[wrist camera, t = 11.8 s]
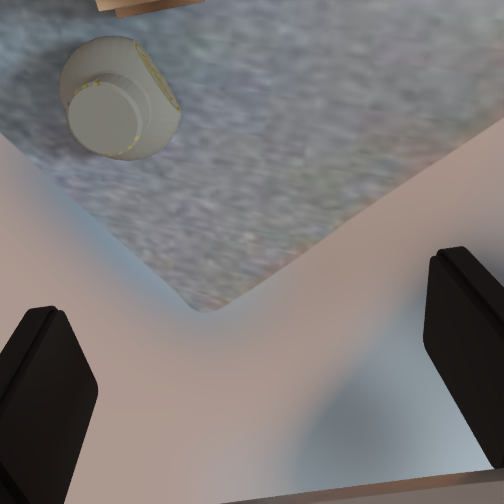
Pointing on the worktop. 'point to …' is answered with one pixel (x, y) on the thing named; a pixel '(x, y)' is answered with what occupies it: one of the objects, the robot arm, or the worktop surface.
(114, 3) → the top block
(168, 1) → the base block
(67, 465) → the robot arm
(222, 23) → the worktop surface
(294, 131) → the worktop surface
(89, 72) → the air freshener
